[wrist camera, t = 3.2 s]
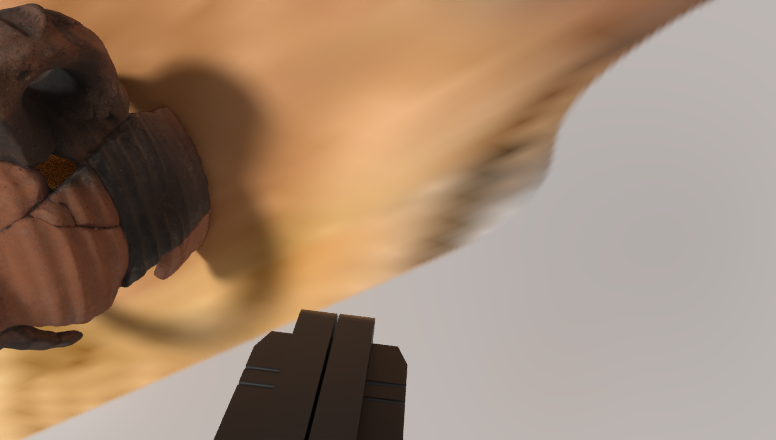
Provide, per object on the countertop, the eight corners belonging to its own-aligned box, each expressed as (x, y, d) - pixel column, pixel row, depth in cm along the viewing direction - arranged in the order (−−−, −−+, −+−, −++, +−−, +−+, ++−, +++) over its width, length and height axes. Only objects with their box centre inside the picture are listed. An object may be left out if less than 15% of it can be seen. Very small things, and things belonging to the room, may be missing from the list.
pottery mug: (214, 306, 25) (12, 447, 19) (67, 176, 27) (-152, 265, 21) (261, 47, 17) (-63, 151, 11) (48, -103, 19) (-311, -85, 13)
